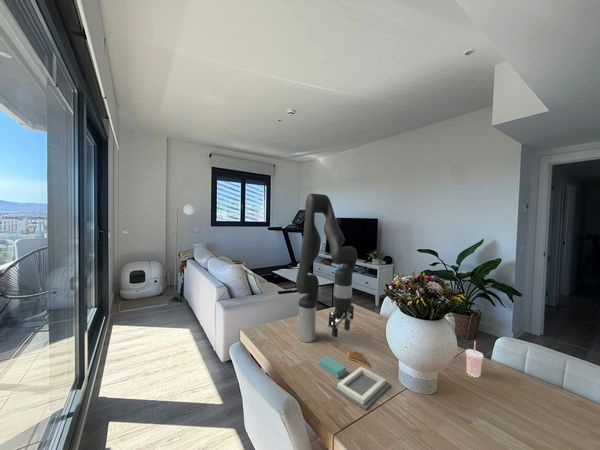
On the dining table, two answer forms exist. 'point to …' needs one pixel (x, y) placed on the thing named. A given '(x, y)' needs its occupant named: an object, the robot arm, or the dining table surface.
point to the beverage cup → (474, 361)
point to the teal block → (333, 367)
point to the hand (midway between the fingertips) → (341, 333)
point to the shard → (357, 357)
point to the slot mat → (362, 387)
